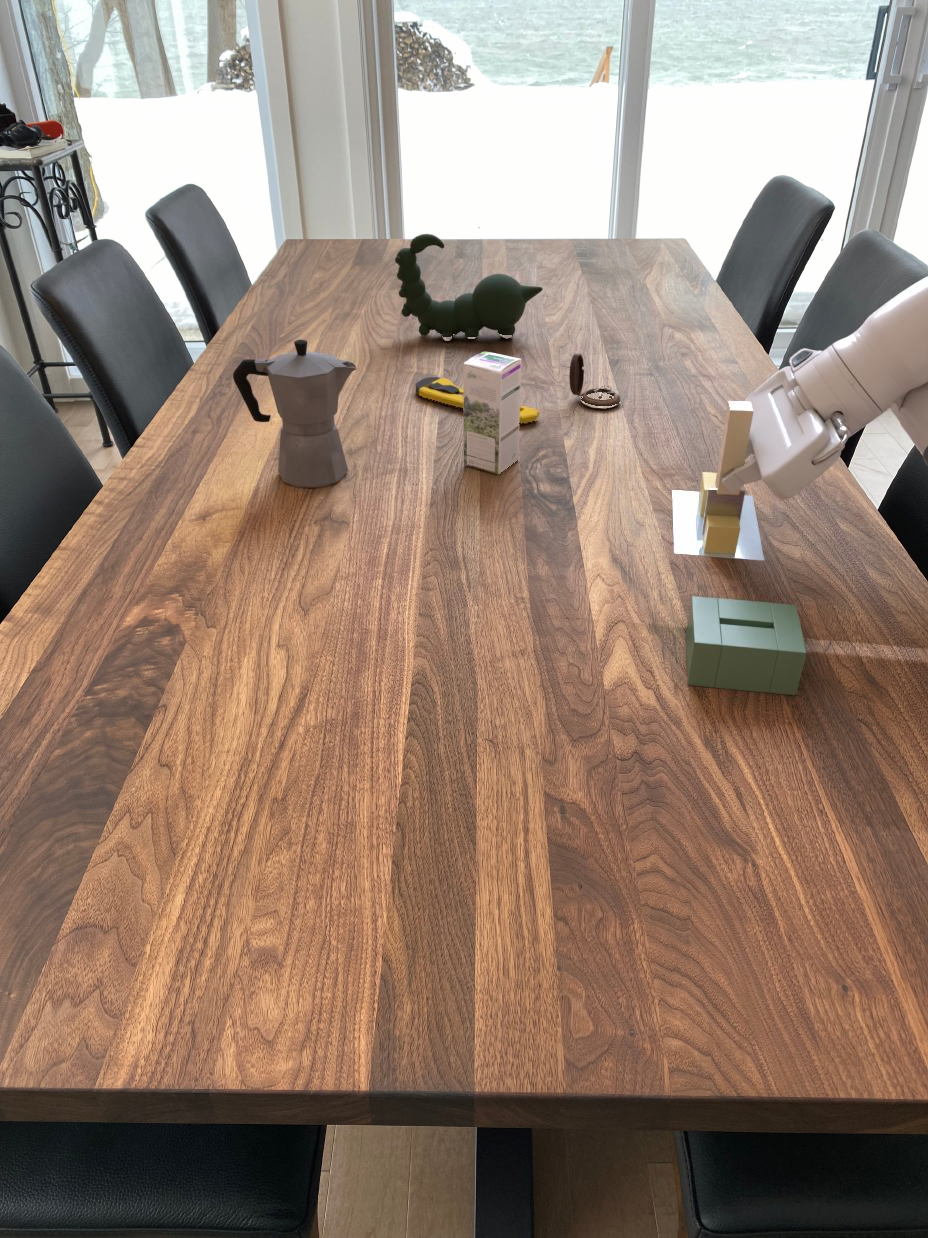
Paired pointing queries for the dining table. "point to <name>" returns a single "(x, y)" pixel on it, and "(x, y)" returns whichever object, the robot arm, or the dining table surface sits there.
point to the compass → (576, 387)
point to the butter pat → (721, 534)
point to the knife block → (744, 645)
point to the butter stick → (705, 489)
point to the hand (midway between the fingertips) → (723, 477)
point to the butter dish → (691, 525)
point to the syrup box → (491, 411)
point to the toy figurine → (460, 299)
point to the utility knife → (458, 396)
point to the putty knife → (730, 461)
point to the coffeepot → (302, 412)
